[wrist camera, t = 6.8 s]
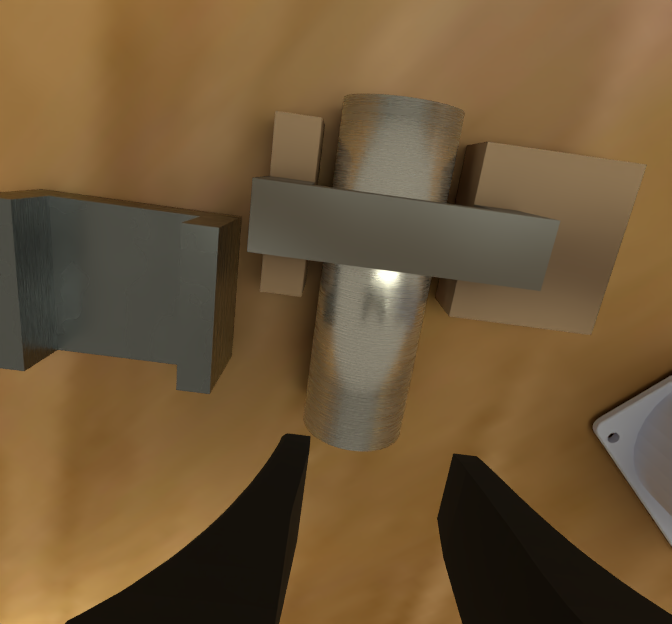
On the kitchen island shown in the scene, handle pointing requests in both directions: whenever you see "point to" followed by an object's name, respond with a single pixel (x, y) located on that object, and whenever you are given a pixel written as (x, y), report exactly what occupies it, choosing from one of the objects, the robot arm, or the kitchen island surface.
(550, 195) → the bearing block
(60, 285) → the cradle
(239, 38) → the kitchen island surface
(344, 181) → the axle
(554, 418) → the kitchen island surface
